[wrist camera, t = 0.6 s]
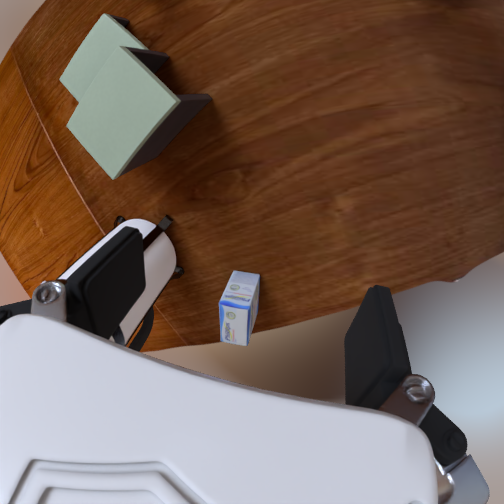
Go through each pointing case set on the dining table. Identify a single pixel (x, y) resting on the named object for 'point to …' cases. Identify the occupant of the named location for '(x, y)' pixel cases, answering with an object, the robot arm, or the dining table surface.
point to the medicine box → (239, 307)
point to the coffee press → (156, 273)
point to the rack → (123, 99)
